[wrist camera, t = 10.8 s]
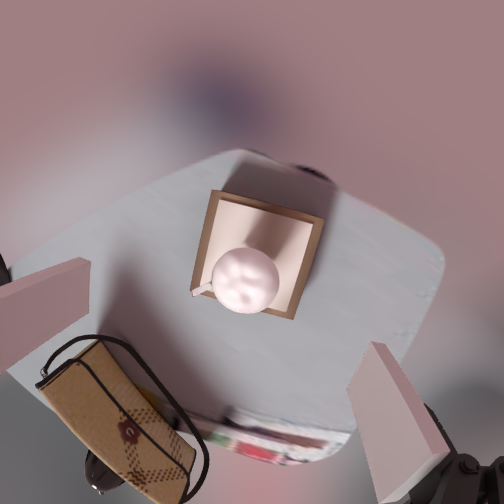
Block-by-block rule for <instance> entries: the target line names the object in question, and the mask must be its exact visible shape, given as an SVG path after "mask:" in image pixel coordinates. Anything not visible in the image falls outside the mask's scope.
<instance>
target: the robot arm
mask: <svg viewBox="0 0 504 504" xmlns="http://www.w3.org/2000/svg"><path fill="white" fill-rule="evenodd" d="M90 266H91V261H88V260H86V259H83V258H81V257H78V258H75V259H72V260H69V261H67V262H64V263H61V264H58V265H55V266H53V267H50V268H47V269H44V270H42V271H39V272H36V273H34V274H31V275H28V276H26V277H23V278H21V279H18V280H15V281H13V282H10V279H9V275H8V271H7V268H6V265H5V263H4V260H3V258H2V256H1V254H0V374H1V373H3V372H4V371H5V370H7V369H8V368H10V367H11V366H12V365H14V364H15V363H16V362H18V361H19V360H21V359H22V358H23V357H25V356H26V355H28V354H29V353H30V352H32V351H33V350H35V349H36V348H38V347H39V346H40V345H42V344H43V343H45V342H46V341H48V340H49V339H51V338H52V337H53V336H55V335H56V334H58V333H59V332H61V331H62V330H64V329H65V328H67V327H68V326H70V325H71V324H73V323H74V322H76V321H77V320H79V319H80V318H82V317H83V316H85V315H86V314H88V313H89V284H90ZM347 392H348V396H349V399H350V402H351V405H352V408H353V412H354V415H355V418H356V422H357V425H358V428H359V432H360V435H361V439H362V442H363V446H364V449H365V453H366V456H367V460H368V464H369V468H370V472H371V476H372V479H373V483H374V487H375V491H376V495H377V499H378V504H381V503H389V502H394V501H398V500H399V499H400V498H401V497H403V496H404V495H405V494H407V493H408V492H409V495H410V499H409V500H408V501H406V502H405V503H404V504H487V503H488V504H504V456H500V457H498V458H497V459H496V460H495V461H494V462H493V463H492V464H491V465H490V466H489V467H487V466H480V464H479V462H478V461H477V460H476V459H475V458H474V457H472V456H471V455H469V454H465V453H464V454H459V455H458V453H457V451H456V449H455V448H454V446H453V444H452V442H451V441H450V439H449V437H448V435H447V434H446V432H445V430H444V429H442V428H443V427H442V425H441V424H440V422H438V419H437V417H436V415H435V414H434V412H433V411H432V410H431V409H430V408H429V407H428V406H427V405H426V404H425V403H423V402H422V401H421V399H420V398H419V396H418V395H417V393H416V391H415V389H414V388H413V386H412V385H411V383H410V382H409V380H408V378H407V377H406V375H405V374H404V372H403V371H402V369H401V368H400V366H399V364H398V363H397V361H396V360H395V358H394V357H393V355H392V354H391V352H390V351H389V349H388V348H387V346H386V345H385V344H382V343H377V342H370V344H369V346H368V348H367V350H366V353H365V355H364V357H363V359H362V361H361V363H360V365H359V367H358V369H357V370H356V372H355V374H354V376H353V378H352V380H351V382H350V384H349V385H348V387H347Z"/></svg>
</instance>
